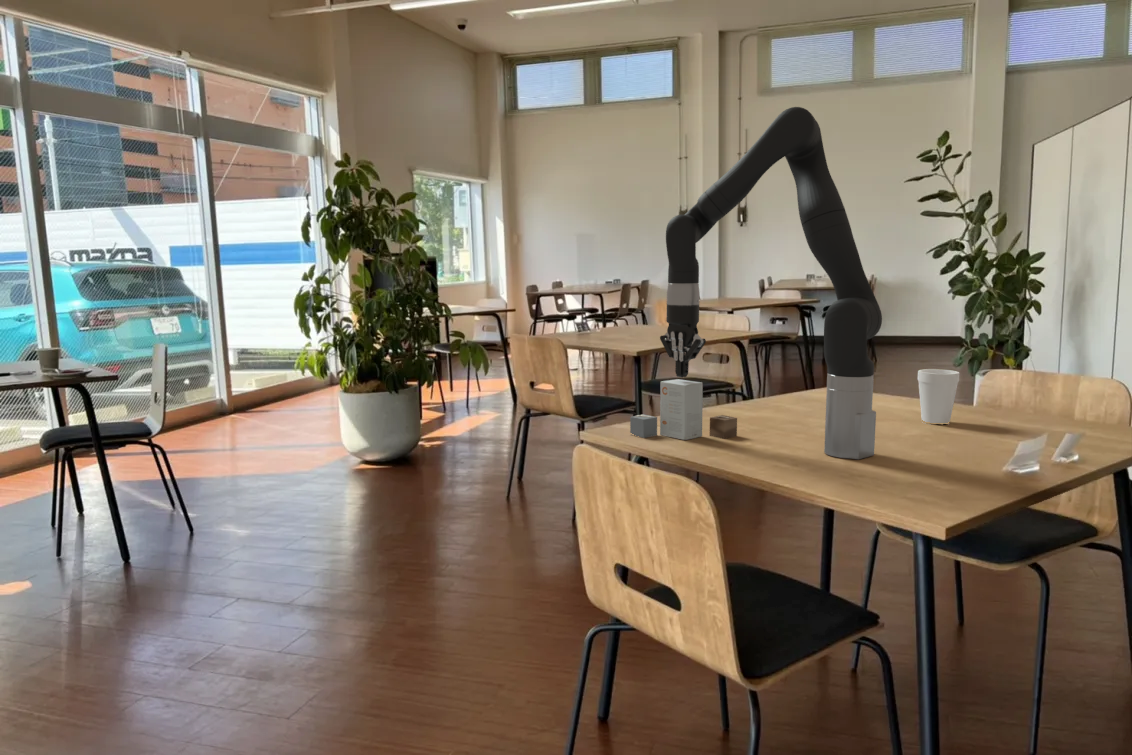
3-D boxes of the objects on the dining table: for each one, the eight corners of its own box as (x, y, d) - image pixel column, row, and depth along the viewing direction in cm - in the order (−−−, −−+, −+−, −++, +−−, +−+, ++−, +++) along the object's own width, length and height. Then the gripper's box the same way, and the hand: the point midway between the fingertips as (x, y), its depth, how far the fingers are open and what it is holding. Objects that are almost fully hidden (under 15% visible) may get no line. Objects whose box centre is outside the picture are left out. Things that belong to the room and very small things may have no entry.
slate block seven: (657, 435, 192) (657, 416, 192) (643, 438, 189) (643, 418, 189) (643, 432, 196) (643, 413, 195) (630, 435, 193) (630, 415, 192)
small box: (702, 436, 190) (703, 382, 188) (684, 440, 186) (685, 385, 184) (677, 431, 196) (678, 378, 194) (659, 435, 192) (659, 381, 190)
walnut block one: (736, 436, 191) (737, 416, 190) (724, 439, 188) (724, 419, 187) (721, 433, 194) (722, 414, 193) (709, 436, 191) (709, 416, 191)
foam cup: (961, 426, 198) (964, 374, 196) (921, 426, 200) (924, 374, 198) (949, 419, 208) (952, 369, 206) (911, 418, 209) (914, 368, 207)
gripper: (715, 303, 184) (713, 378, 187) (673, 301, 194) (672, 372, 197) (693, 304, 179) (691, 381, 182) (651, 302, 190) (650, 375, 192)
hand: (681, 376), depth 189 cm, fingers closed
